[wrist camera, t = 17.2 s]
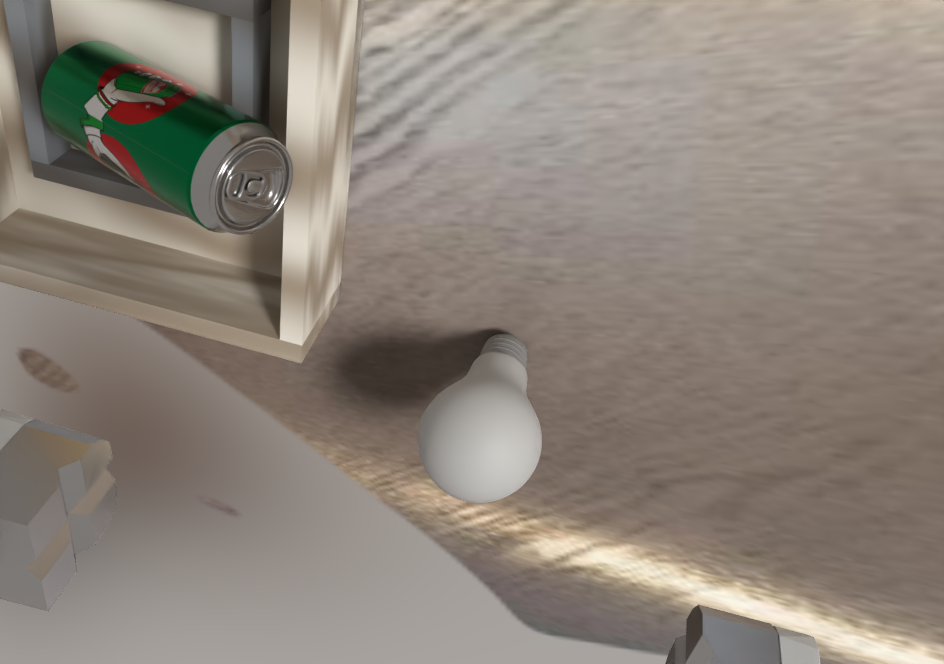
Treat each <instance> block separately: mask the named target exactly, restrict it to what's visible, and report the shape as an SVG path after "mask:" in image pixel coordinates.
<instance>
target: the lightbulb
mask: <svg viewBox="0 0 944 664" xmlns="http://www.w3.org/2000/svg"><path fill="white" fill-rule="evenodd" d="M527 357H528V351H527V348H526V346H525V345H524V343H523V342H522V341H521V340H520V339H518V338H517V337H515V336H512V335H509V334H498V335H494V336H492V337H490V338H489V339H488V340H487V341H486V343H485V345H484V346H483V349H482V351H481V354H480V356H479V357H478V358H477V359H476V360H475V361H474V362H473V364H472V366H471V368H470V370H469V372H468V374H467V375H466V376H465V377H464V378H463V379H462V380H459V381H457V382H455V383H454V384H452V385H450V386H449V387H447V388H446V389H444V390H443V391H442V392H440V393H439V394H438V395H437V396H436V397H435V398H434V399H433V401H432V402H431V403H430V404H429V406H428V407H427V408H426V410H425V412H424V414H423V417H422V419H421V422H420V426H419V433H418V446H419V454H420V458H421V461H422V464H423V466H424V468H425V470H426V472H427V473H428V475H429V476H430V478H431V479H432V480H433V481H434V482H435V483H436V485H437V486H438V487H439V488H440V489H442V490H443V491H444V492H446V493H447V494H449V495H451V496H453V497H455V498H457V499H460V500H463V501H467V502H474V503H486V502H492V501H496V500H499V499H502V498H505V497H507V496H508V495H510V494H512V493H514V492H515V491H517V490H518V489H520V488H521V487H522V486H523V485H524V484H525V483H526V481H527V480H528V479H529V478H530V476H531V475H532V473H533V472H534V470H535V468H536V466H537V464H538V461H539V458H540V454H541V449H542V435H541V428H540V424H539V420H538V418H537V416H536V413H535V411H534V409H533V407H532V405H531V403H530V401H529V400H528V398H527V395H526V386H527V373H526V365H527Z"/></svg>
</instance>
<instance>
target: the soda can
mask: <svg viewBox="0 0 944 664" xmlns="http://www.w3.org/2000/svg"><path fill="white" fill-rule="evenodd" d="M41 103H42V109H43V113H44V116H45V119H46V121H47V123H48V124H49V126H50V127H51V129H52V130H53V131H54V132H55V133H56V134H57V135H58V136H59V137H60V138H62V139H63V140H65V141H67V142H68V143H70V144H71V145H73V146H75V147H76V148H78V149H79V150H81V151H82V152H84V153H86V154H87V155H89V156H90V157H92V158H94V159H95V160H97V161H98V162H100V163H102V164H103V165H105V166H106V167H108V168H110V169H111V170H113V171H114V172H116V173H118V174H119V175H121V176H122V177H124V178H125V179H127V180H129V181H130V182H132V183H133V184H135V185H137V186H138V187H140V188H141V189H143V190H145V191H146V192H148V193H149V194H151V195H153V196H154V197H156V198H157V199H159V200H161V201H162V202H164V203H165V204H167V205H168V206H170V207H172V208H173V209H175V210H176V211H178V212H180V213H181V214H183V215H184V216H186V217H188V218H189V219H191V220H192V221H194V222H196V223H197V224H199V225H200V226H202V227H204V228H205V229H207V230H209V231H212V232H217V233H228V232H229V233H232V234H237V235H245V234H250V233H253V232H256V231H258V230H260V229H261V228H263V227H265V226H266V225H267V224H268V223H270V222H271V221H272V220H273V219H274V218H275V217H276V215H277V214H278V213H279V212H280V210H281V209H282V207H283V206H284V204H285V202H286V200H287V198H288V195H289V193H290V190H291V186H292V181H293V164H292V160H291V157H290V154H289V152H288V151H287V149H286V148H285V147H284V145H283V144H281V143H280V141H279V139H278V137H277V135H276V134H275V133H274V131H273V130H272V129H271V128H270V127H268V126H267V125H266V124H264V123H262V122H260V121H258V120H256V119H254V118H253V117H251V116H249V115H247V114H245V113H243V112H241V111H239V110H237V109H235V108H233V107H232V106H230V105H228V104H226V103H224V102H222V101H220V100H218V99H216V98H214V97H212V96H211V95H209V94H207V93H205V92H203V91H201V90H199V89H197V88H195V87H193V86H191V85H190V84H188V83H186V82H184V81H182V80H180V79H178V78H176V77H174V76H172V75H170V74H169V73H167V72H165V71H163V70H161V69H159V68H157V67H155V66H153V65H151V64H149V63H148V62H146V61H144V60H142V59H140V58H138V57H136V56H134V55H132V54H130V53H128V52H127V51H125V50H123V49H121V48H119V47H117V46H115V45H113V44H111V43H108V42H104V41H86V42H82V43H79V44H76V45H74V46H72V47H70V48H69V49H67V50H65V51H64V52H63V53H62V54H61V55H59V56H58V58H57V59H56V60H55V61H54V62H53V63H52V65H51V67H50V68H49V70H48V72H47V74H46V76H45V79H44V82H43V86H42V93H41Z"/></svg>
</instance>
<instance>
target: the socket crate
mask: <svg viewBox="0 0 944 664" xmlns="http://www.w3.org/2000/svg"><path fill="white" fill-rule="evenodd" d="M363 12H364V0H0V282H4V283H8V284H12V285H15V286H19V287H22V288H27V289H30V290H33V291H37V292H41V293H45V294H48V295H52V296H56V297H59V298H63V299H67V300H70V301H74V302H78V303H82V304H85V305H89V306H92V307H96V308H100V309H103V310H107V311H111V312H114V313H118V314H122V315H125V316H129V317H133V318H137V319H140V320H144V321H148V322H151V323H155V324H159V325H162V326H166V327H170V328H173V329H177V330H181V331H184V332H188V333H192V334H195V335H199V336H203V337H206V338H210V339H214V340H217V341H221V342H225V343H228V344H232V345H236V346H240V347H243V348H247V349H251V350H254V351H258V352H262V353H265V354H269V355H273V356H276V357H280V358H284V359H287V360H291V361H295V362H298V363H302V361H303V359H304V358H305V356H306V354H307V353H308V351H309V349H310V347H311V346H312V344H313V342H314V341H315V339H316V337H317V335H318V334H319V332H320V330H321V329H322V327H323V325H324V324H325V322H326V320H327V318H328V317H329V315H330V313H331V312H332V310H333V308H334V307H335V305H336V303H337V301H338V300H339V295H340V283H341V271H342V259H343V248H344V236H345V224H346V212H347V201H348V189H349V177H350V165H351V153H352V142H353V130H354V118H355V106H356V95H357V83H358V71H359V59H360V47H361V36H362V24H363ZM86 41H104V42H108V43H111V44H113V45H115V46H117V47H119V48H121V49H123V50H125V51H127V52H128V53H130V54H132V55H134V56H136V57H138V58H140V59H142V60H144V61H146V62H148V63H149V64H151V65H153V66H155V67H157V68H159V69H161V70H163V71H165V72H167V73H169V74H170V75H172V76H174V77H176V78H178V79H180V80H182V81H184V82H186V83H188V84H190V85H191V86H193V87H195V88H197V89H199V90H201V91H203V92H205V93H207V94H209V95H211V96H212V97H214V98H216V99H218V100H220V101H222V102H224V103H226V104H228V105H230V106H232V107H233V108H235V109H237V110H239V111H241V112H243V113H245V114H247V115H249V116H251V117H253V118H254V119H256V120H258V121H260V122H262V123H264V124H266V125H267V126H268V127H270V128H271V129H272V130H273V131H274V133H275V134H276V135H277V137H278V139H279V141H280V143H281V144H283V145H284V147H285V148H286V149H287V151H288V152H289V154H290V157H291V160H292V164H293V181H292V186H291V190H290V193H289V195H288V198H287V200H286V202H285V204H284V206H283V207H282V209H281V210H280V212H279V213H278V214H277V215H276V217H275V218H274V219H273V220H272V221H271V222H270V223H268V224H267V225H266V226H265V227H263V228H261V229H260V230H258V231H256V232H253V233H250V234H245V235H237V234H232V233H229V232H228V233H217V232H212V231H209V230H207V229H205V228H204V227H202V226H200V225H199V224H197V223H196V222H194V221H192V220H191V219H189V218H188V217H186V216H184V215H183V214H181V213H180V212H178V211H176V210H175V209H173V208H172V207H170V206H168V205H167V204H165V203H164V202H162V201H161V200H159V199H157V198H156V197H154V196H153V195H151V194H149V193H148V192H146V191H145V190H143V189H141V188H140V187H138V186H137V185H135V184H133V183H132V182H130V181H129V180H127V179H125V178H124V177H122V176H121V175H119V174H118V173H116V172H114V171H113V170H111V169H110V168H108V167H106V166H105V165H103V164H102V163H100V162H98V161H97V160H95V159H94V158H92V157H90V156H89V155H87V154H86V153H84V152H82V151H81V150H79V149H78V148H76V147H75V146H73V145H71V144H70V143H68V142H67V141H65V140H63V139H62V138H60V137H59V136H58V135H57V134H56V133H55V132H54V131H53V130H52V129H51V127H50V126H49V124H48V123H47V121H46V119H45V116H44V113H43V109H42V103H41V93H42V86H43V82H44V79H45V76H46V74H47V72H48V70H49V68H50V67H51V65H52V63H53V62H54V61H55V60H56V59H57V58H58V56H59V55H61V54H62V53H63V52H64V51H65V50H67V49H69V48H70V47H72V46H74V45H76V44H79V43H82V42H86Z"/></svg>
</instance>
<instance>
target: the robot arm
mask: <svg viewBox="0 0 944 664" xmlns="http://www.w3.org/2000/svg"><path fill="white" fill-rule="evenodd" d="M111 460H112V453H111V448H110V443H109V441H105V440H102V439H99V438H96V437H92V436H89V435H86V434H83V433H79V432H76V431H72V430H70V429H66V428H63V427H60V426H56V425H53V424H50V423H46V422H43V421H40V420H37V419H34V418H30V417H27V416H23V415H20V414H16V413H13V412H9V411H6V410H2V409H1V410H0V599H4V600H7V601H11V602H15V603H19V604H23V605H26V606H30V607H34V608H38V609H41V610H45V611H49V610H50V609H51V607H52V606H53V604H54V603H55V601H56V600H57V599H58V597H59V596H60V595H61V593H62V592H63V590H64V589H65V587H66V586H67V585H68V583H69V582H70V580H71V579H72V577H73V576H74V575H75V573H76V572H77V566H76V556H75V555H76V554H78V553H80V552H82V551H84V550H86V549H88V548H90V547H92V546H94V545H96V543H97V542H98V540H99V539H100V537H101V536H102V534H103V533H104V531H105V530H106V528H107V526H108V524H109V521H110V519H111V516H112V514H113V512H114V509H115V505H116V497H117V487H116V480H115V479H114V478H113V476H112V475H111V474H110V473H109V472H108V471H107V469H106V466H107V465H108V464H109V462H110V461H111ZM666 664H820V657H819V649H818V645H817V643H816V641H815V639H814V637H812V636H809V635H806V634H802V633H798V632H795V631H791V630H787V629H784V628H780V627H776V626H772V625H771V624H769V623H765V622H762V621H758V620H754V619H750V618H746V617H743V616H739V615H735V614H731V613H728V612H724V611H720V610H716V609H712V608H709V607H705V606H701V605H697V606H696V607H694V608H693V609H692V611H691V613H690V614H689V616H688V618H687V619H686V635H684V636H681V637H679V638H676V639H675V641H674V643H673V645H672V647H671V649H670V651H669V653H668V657H667V660H666Z"/></svg>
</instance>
